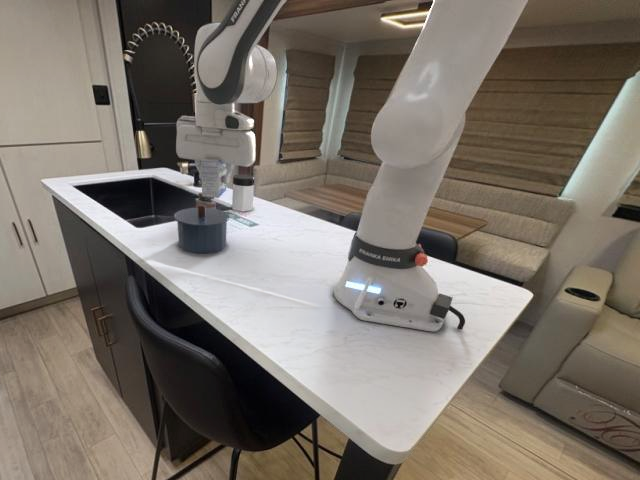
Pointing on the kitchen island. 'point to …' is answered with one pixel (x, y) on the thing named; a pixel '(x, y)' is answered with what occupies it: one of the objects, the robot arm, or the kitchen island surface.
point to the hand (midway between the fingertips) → (214, 181)
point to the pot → (202, 238)
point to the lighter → (205, 201)
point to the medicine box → (212, 177)
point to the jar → (243, 192)
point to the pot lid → (201, 216)
